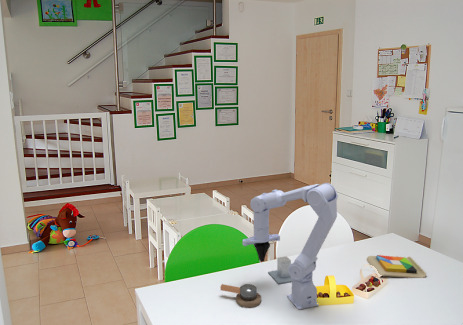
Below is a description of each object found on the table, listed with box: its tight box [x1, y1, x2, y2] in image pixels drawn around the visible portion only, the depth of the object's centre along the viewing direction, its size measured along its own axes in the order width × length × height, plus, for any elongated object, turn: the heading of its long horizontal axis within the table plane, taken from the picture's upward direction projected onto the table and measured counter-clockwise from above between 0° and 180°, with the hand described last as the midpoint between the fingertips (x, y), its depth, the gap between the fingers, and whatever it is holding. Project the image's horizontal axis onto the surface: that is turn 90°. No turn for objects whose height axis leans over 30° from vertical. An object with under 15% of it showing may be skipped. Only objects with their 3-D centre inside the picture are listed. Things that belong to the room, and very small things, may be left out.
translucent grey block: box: [276, 255, 292, 278], centre depth 165 cm, size 4×4×7 cm
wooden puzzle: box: [366, 254, 427, 279], centre depth 171 cm, size 18×19×4 cm
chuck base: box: [235, 292, 262, 309], centre depth 148 cm, size 9×9×2 cm
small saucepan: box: [219, 283, 258, 301], centre depth 149 cm, size 14×6×3 cm, turn 68°
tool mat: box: [267, 269, 292, 285], centre depth 166 cm, size 10×10×1 cm
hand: (261, 260), depth 157 cm, fingers closed
